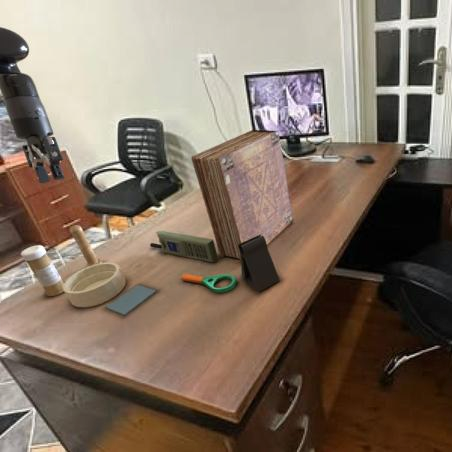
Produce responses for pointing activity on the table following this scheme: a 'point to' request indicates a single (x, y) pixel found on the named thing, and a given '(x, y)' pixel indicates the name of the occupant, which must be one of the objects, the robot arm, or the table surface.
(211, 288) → the magnifying glass
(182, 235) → the handheld radio
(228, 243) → the book
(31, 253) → the sprinkles bottle
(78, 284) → the bowl
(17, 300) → the table surface
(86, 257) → the wooden pestle
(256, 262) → the phone stand
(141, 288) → the rest mat
